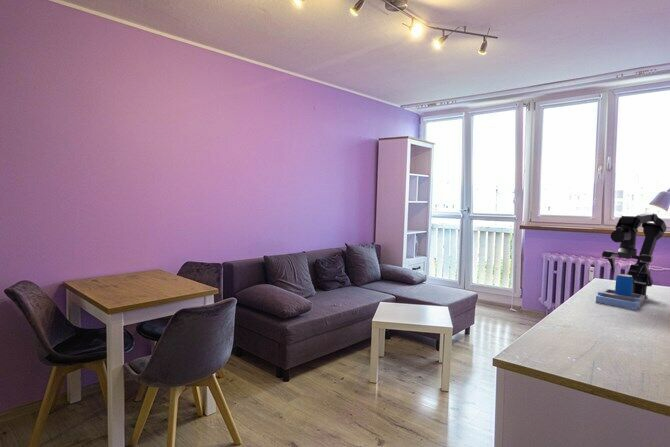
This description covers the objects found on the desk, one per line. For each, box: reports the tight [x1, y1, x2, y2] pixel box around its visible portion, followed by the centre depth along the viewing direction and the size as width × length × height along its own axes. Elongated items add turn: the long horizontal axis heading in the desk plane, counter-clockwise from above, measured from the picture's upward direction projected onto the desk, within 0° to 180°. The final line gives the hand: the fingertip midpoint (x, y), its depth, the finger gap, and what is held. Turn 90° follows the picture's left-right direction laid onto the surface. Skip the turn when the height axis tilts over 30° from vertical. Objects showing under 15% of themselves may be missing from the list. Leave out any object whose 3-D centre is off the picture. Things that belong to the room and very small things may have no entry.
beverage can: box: [614, 273, 633, 297], centre depth 184 cm, size 6×6×12 cm
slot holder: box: [595, 288, 646, 311], centre depth 181 cm, size 21×15×4 cm
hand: (625, 273), depth 184 cm, fingers open, 9 cm apart
